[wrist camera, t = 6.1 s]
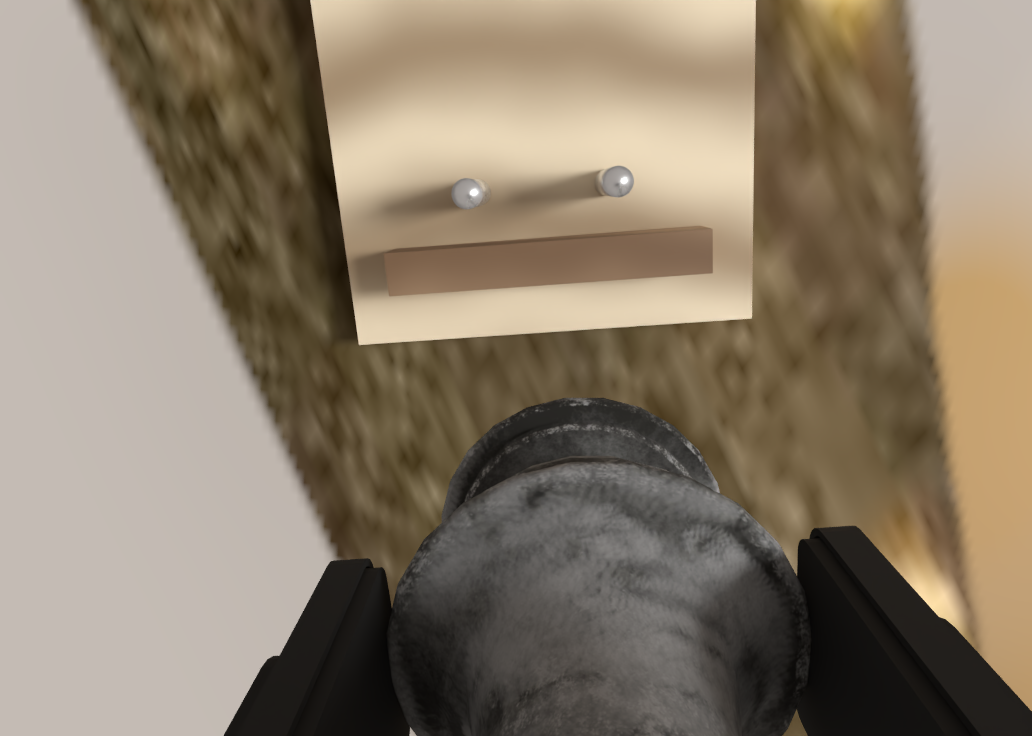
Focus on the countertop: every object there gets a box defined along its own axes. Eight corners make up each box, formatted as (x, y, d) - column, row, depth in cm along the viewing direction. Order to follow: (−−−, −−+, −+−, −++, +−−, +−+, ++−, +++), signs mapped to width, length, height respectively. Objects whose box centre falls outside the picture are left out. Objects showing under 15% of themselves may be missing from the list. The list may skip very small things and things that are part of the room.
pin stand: (741, 311, 29) (785, 340, 23) (367, 336, 29) (329, 370, 24) (746, -259, 23) (804, -389, 18) (293, -205, 24) (223, -314, 19)
